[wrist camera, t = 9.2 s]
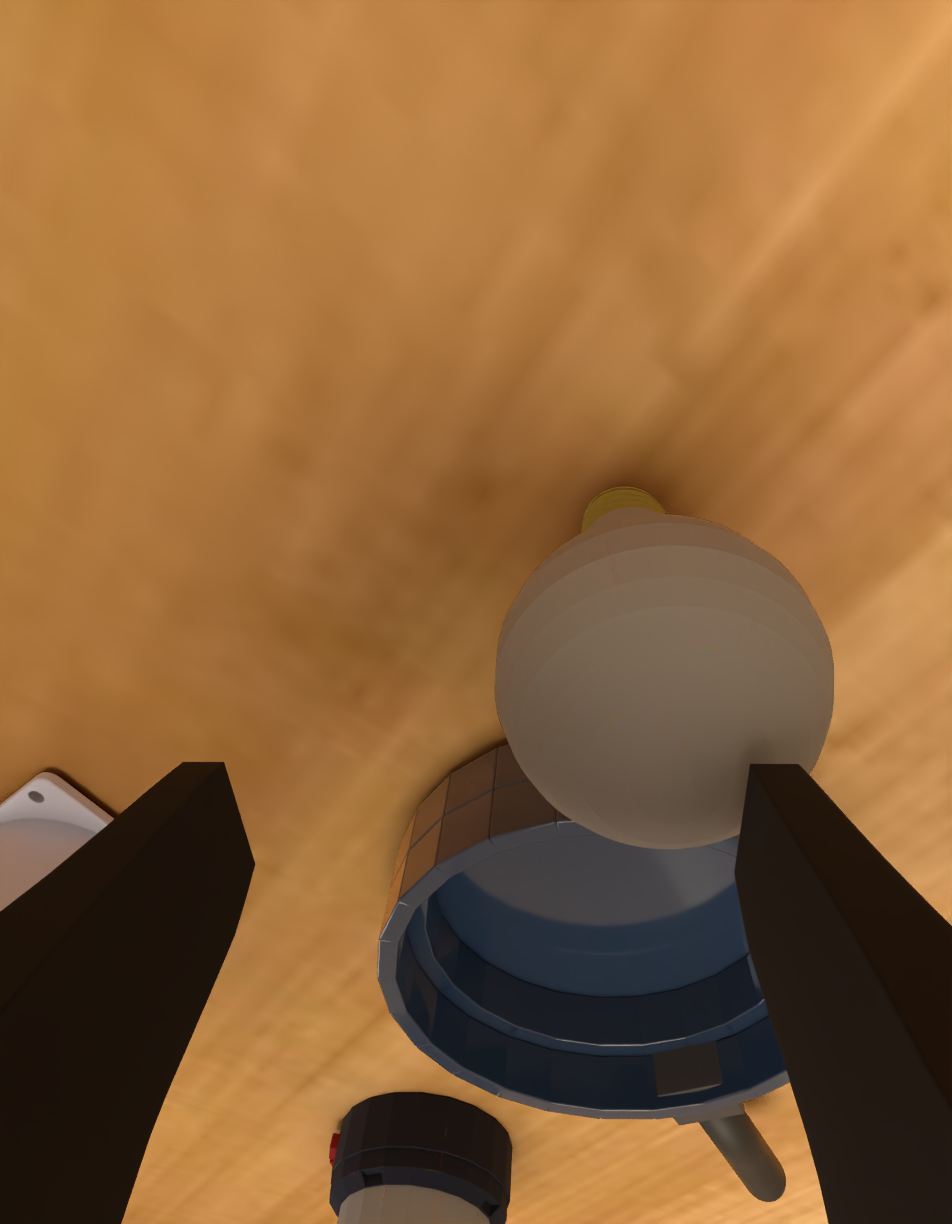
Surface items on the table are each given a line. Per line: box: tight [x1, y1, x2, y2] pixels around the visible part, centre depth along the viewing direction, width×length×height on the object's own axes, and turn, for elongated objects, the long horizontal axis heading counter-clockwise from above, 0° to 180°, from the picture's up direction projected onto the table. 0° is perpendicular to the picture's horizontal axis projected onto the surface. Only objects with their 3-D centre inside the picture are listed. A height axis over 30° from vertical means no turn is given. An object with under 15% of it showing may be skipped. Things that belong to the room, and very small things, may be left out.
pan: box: [377, 744, 790, 1119], centre depth 24 cm, size 14×14×4 cm
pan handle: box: [653, 1041, 786, 1202], centre depth 28 cm, size 9×2×2 cm, turn 29°
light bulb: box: [495, 486, 834, 849], centre depth 15 cm, size 6×6×10 cm
